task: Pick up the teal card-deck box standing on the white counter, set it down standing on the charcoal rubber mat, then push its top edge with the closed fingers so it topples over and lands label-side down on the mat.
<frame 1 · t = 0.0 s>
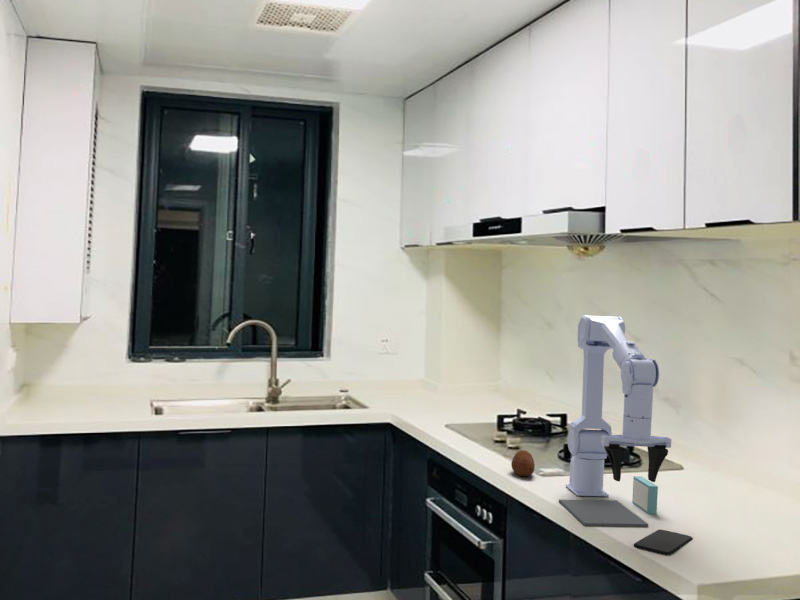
hand: (634, 480, 166), 10 cm above the worktop, fingers open, 7 cm apart
potato: (522, 475, 209), on the worktop
deck: (644, 508, 182), on the worktop
mat: (601, 513, 176), on the worktop
smartphone: (663, 545, 157), on the worktop
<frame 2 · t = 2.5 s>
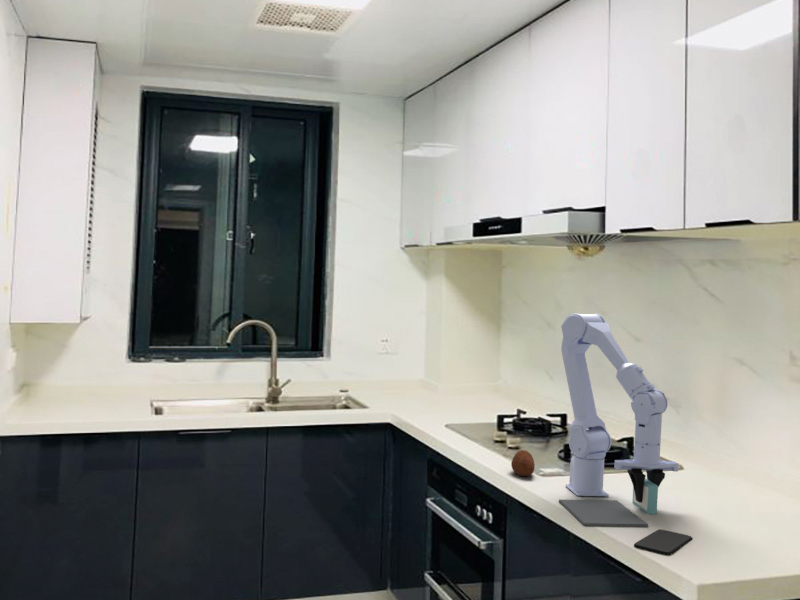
hand: (644, 501, 182), 2 cm above the worktop, fingers closed on deck, 2 cm apart
deck: (644, 508, 182), on the worktop, touching gripper
everything else where it was.
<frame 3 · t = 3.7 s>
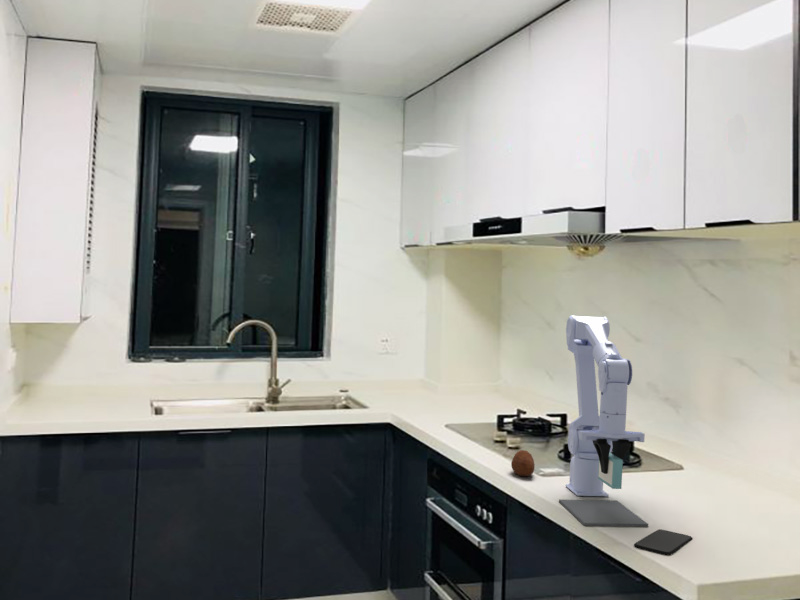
hand: (610, 472, 177), 9 cm above the worktop, fingers closed on deck
deck: (609, 483, 177), point 6 cm above the worktop, touching gripper
everything else where it was.
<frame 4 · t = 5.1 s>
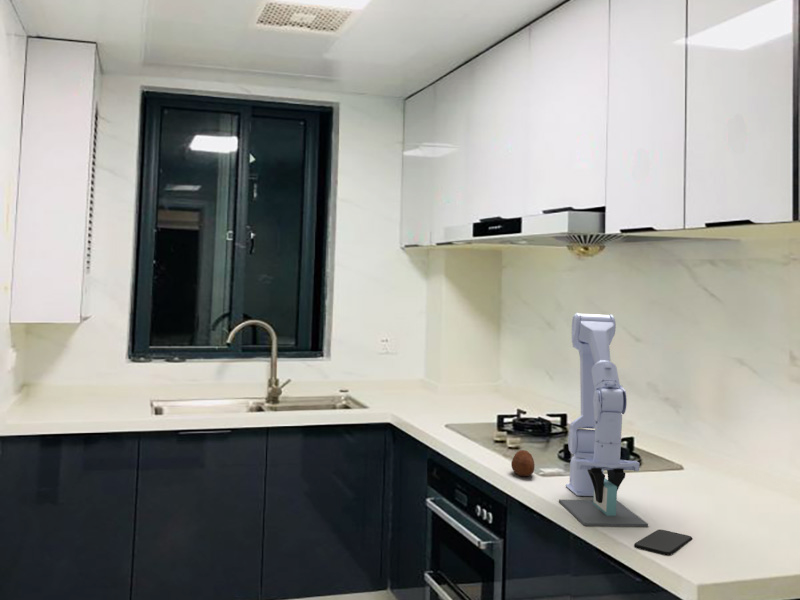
hand: (604, 501, 177), 2 cm above the worktop, fingers closed on deck, 2 cm apart
deck: (604, 509, 177), point 1 cm above the worktop, touching gripper, mat
everything else where it was.
when the fingers open (2 cm above the worktop, at t = 5.3 s): deck stays where it is, resting on mat.
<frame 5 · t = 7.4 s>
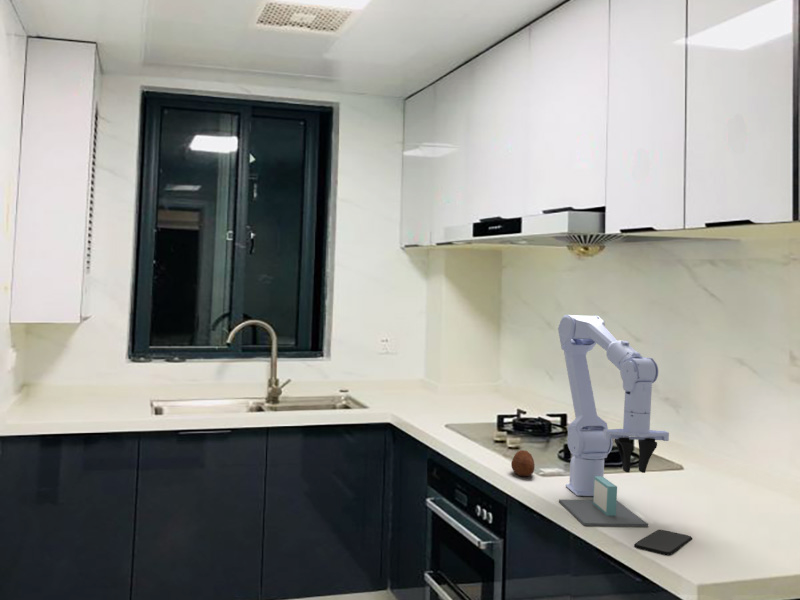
hand: (634, 471, 177), 9 cm above the worktop, fingers open, 3 cm apart
deck: (604, 509, 177), point 1 cm above the worktop, touching mat
everything else where it was.
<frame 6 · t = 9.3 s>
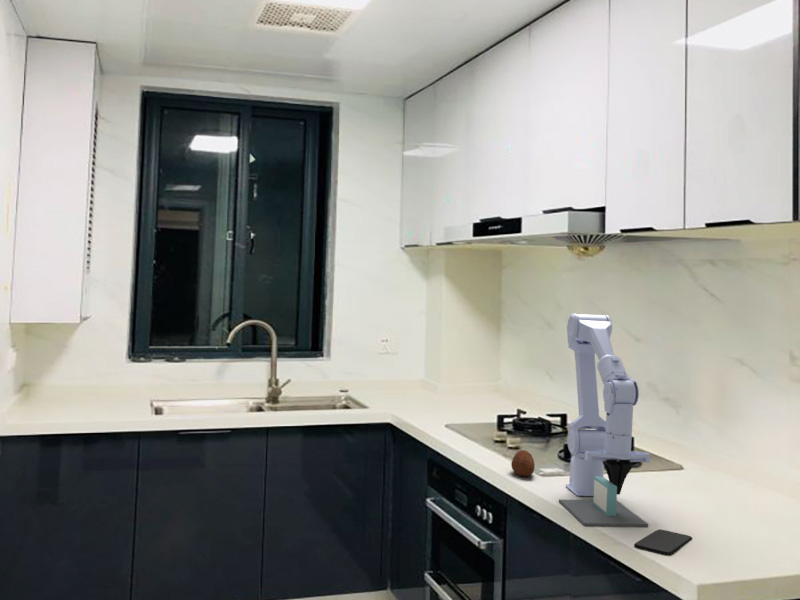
hand: (615, 493, 177), 4 cm above the worktop, fingers closed
deck: (604, 509, 177), point 1 cm above the worktop, touching gripper, mat
everything else where it was.
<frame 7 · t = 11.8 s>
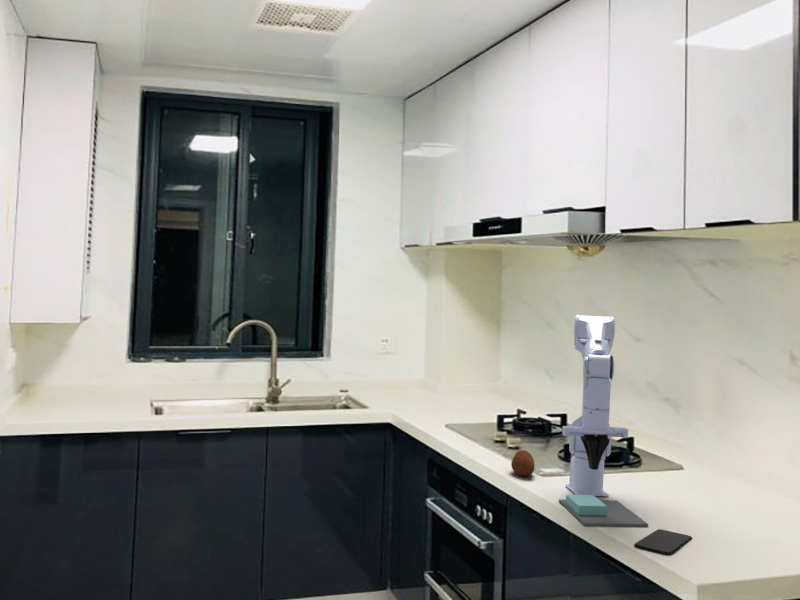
hand: (593, 468, 176), 10 cm above the worktop, fingers closed
deck: (599, 504, 177), point 2 cm above the worktop, tilted 90°, touching mat
everything else where it was.
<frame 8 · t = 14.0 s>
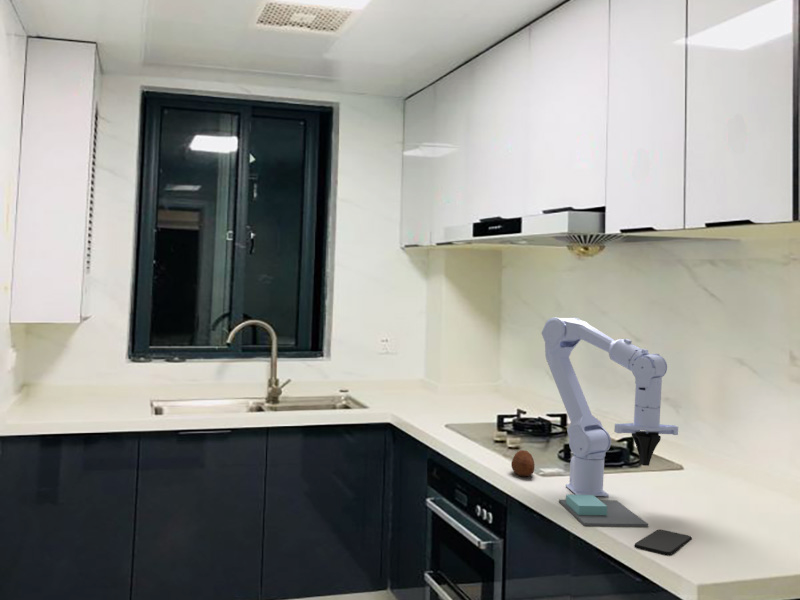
hand: (644, 464, 182), 10 cm above the worktop, fingers closed
nothing on the worktop moved.
at the end: deck tilted 90°; deck inside the target area on the mat (1.2 cm from its centre), point 1.7 cm above the mat's base; the gripper is holding nothing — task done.
